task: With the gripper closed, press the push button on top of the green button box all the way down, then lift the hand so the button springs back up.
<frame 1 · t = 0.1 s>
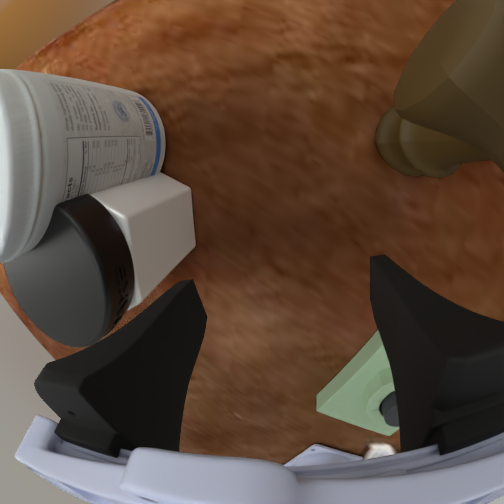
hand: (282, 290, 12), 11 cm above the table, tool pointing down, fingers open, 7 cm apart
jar: (150, 217, 23), on the table, touching supplement tub
kendama: (406, 139, 18), on the table
green button box: (393, 374, 25), on the table
supplement tub: (119, 147, 22), on the table, touching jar
push button: (402, 407, 21), point 4 cm above the table, slide at 0.1 cm
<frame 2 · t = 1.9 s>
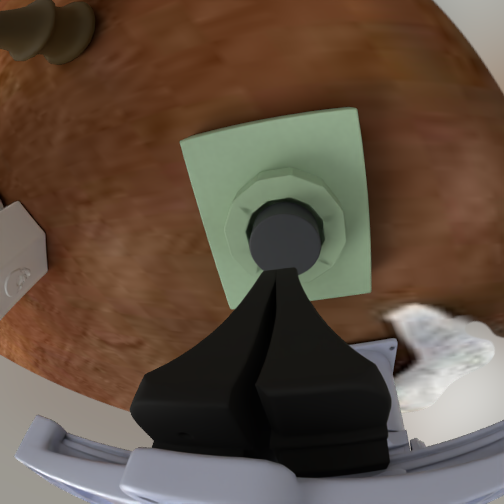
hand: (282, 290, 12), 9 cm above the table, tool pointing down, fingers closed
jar: (23, 238, 24), on the table, touching supplement tub
kendama: (74, 33, 15), on the table
green button box: (286, 208, 20), on the table
push button: (285, 239, 16), point 4 cm above the table, slide at 0.1 cm
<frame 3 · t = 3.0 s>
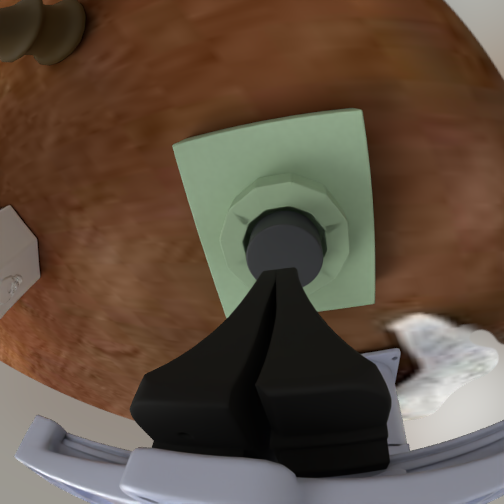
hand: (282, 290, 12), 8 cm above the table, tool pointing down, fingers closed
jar: (15, 243, 23), on the table, touching supplement tub
kendama: (65, 32, 14), on the table
green button box: (286, 216, 19), on the table
push button: (285, 251, 15), point 4 cm above the table, slide at 0.1 cm
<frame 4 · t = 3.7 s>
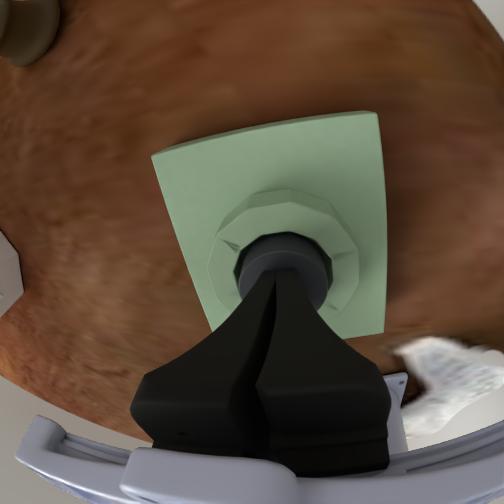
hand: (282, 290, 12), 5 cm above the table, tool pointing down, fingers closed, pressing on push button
kendama: (40, 30, 11), on the table
green button box: (285, 235, 16), on the table
push button: (283, 278, 13), point 4 cm above the table, slide at -0.3 cm, touching gripper
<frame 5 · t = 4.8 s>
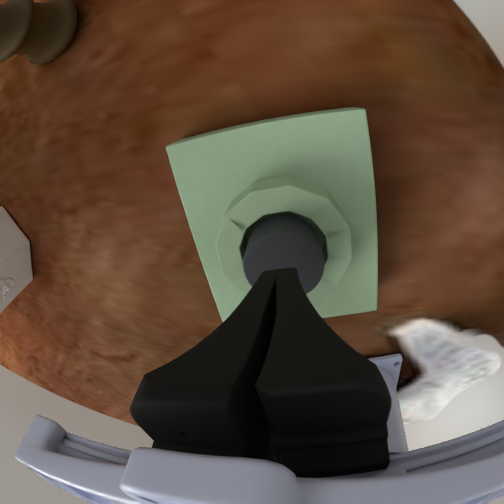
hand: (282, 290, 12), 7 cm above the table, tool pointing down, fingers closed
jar: (8, 244, 22), on the table, touching supplement tub
kendama: (56, 30, 13), on the table
green button box: (285, 219, 18), on the table
push button: (283, 258, 14), point 4 cm above the table, slide at 0.1 cm
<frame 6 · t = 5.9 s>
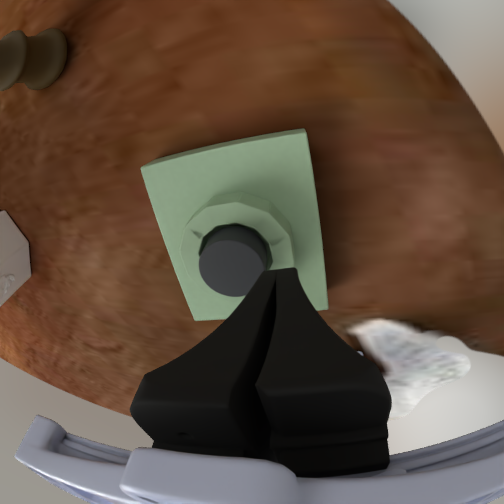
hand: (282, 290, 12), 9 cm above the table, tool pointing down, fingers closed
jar: (9, 244, 25), on the table, touching supplement tub
kendama: (50, 58, 16), on the table
green button box: (244, 228, 21), on the table
push button: (233, 261, 17), point 4 cm above the table, slide at 0.1 cm
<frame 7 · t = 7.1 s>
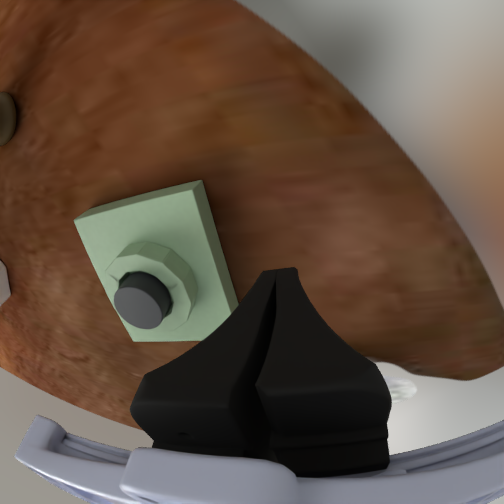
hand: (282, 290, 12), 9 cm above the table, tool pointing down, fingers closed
kendama: (6, 117, 18), on the table
green button box: (164, 266, 23), on the table
push button: (142, 301, 19), point 4 cm above the table, slide at 0.1 cm
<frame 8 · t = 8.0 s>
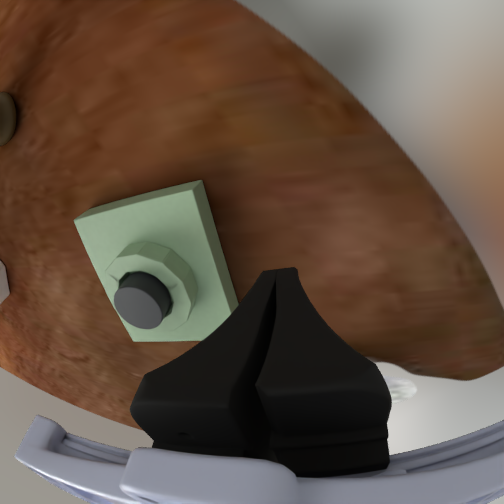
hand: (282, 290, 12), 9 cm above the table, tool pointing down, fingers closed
kendama: (6, 117, 18), on the table
green button box: (164, 266, 23), on the table
push button: (142, 301, 19), point 4 cm above the table, slide at 0.1 cm
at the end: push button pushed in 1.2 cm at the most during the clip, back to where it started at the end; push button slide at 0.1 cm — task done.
